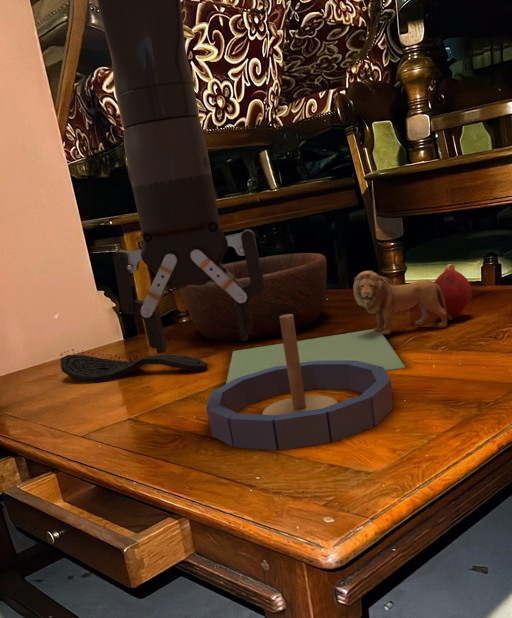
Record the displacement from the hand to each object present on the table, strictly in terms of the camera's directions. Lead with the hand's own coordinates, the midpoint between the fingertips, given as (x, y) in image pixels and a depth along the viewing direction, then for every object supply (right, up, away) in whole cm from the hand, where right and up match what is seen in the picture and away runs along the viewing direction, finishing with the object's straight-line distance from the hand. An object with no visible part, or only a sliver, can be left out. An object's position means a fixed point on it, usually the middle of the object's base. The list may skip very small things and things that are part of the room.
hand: (202, 345), depth 71 cm
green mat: (+13, +1, +23) cm, 26 cm away
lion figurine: (+27, +7, +29) cm, 40 cm away
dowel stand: (+10, -7, +3) cm, 13 cm away
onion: (+35, +9, +32) cm, 48 cm away
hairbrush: (-13, +1, +33) cm, 36 cm away
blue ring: (+10, -7, +3) cm, 13 cm away
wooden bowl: (+6, +11, +49) cm, 51 cm away
